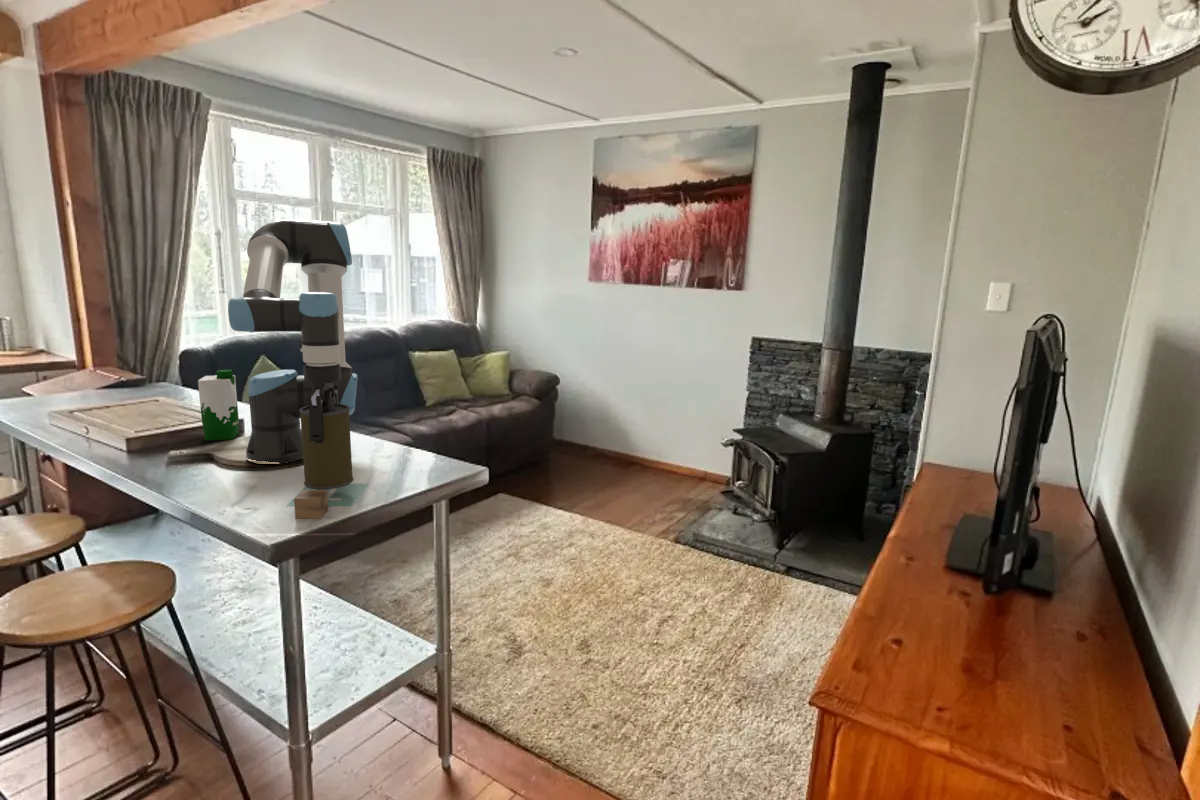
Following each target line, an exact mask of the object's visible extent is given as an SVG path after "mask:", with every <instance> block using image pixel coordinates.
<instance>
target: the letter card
mask: <svg viewBox="0 0 1200 800" xmlns="http://www.w3.org/2000/svg"><path fill="white" fill-rule="evenodd" d="M367 487H369V483H350V484H349V485H346V486H344V487H340V488H335V489H326V490H327V500H328V507H353V506H354V505H355V503H357V501H358V499H359V498H360V497H361V495H362V494H363V493H364V491H365V490H366V488H367ZM302 490H317V489H310V488H307V487H306V486H304V488H303V489H302ZM286 507H295V506H294V498H292V500H291V501H289V502H288V504H286Z"/></svg>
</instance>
